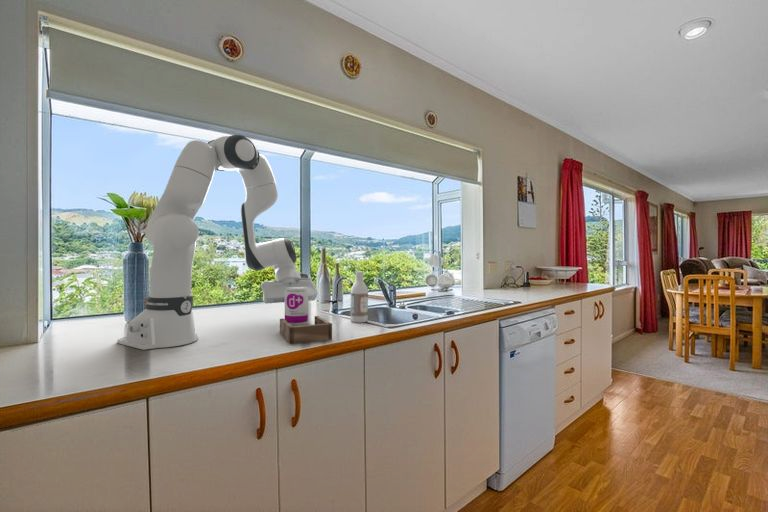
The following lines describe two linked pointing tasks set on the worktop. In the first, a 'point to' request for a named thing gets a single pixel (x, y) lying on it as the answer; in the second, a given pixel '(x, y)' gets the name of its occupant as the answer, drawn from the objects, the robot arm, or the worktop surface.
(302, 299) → the supplement can
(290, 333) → the bay
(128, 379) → the worktop surface
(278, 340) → the worktop surface
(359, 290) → the bath foam
